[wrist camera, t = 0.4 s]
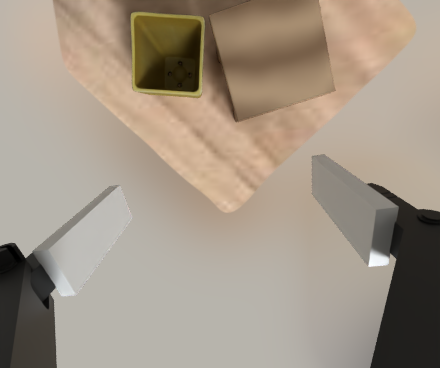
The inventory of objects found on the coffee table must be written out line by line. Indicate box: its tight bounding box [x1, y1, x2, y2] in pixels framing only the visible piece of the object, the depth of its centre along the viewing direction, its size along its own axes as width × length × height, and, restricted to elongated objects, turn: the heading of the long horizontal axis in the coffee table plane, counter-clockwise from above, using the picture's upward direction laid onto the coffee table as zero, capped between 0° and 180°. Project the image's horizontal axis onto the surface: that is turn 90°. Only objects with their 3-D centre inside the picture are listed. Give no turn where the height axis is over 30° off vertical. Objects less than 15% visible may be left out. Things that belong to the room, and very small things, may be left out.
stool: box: [209, 0, 335, 122], centre depth 30 cm, size 12×12×10 cm
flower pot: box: [131, 12, 205, 98], centre depth 30 cm, size 9×9×9 cm
